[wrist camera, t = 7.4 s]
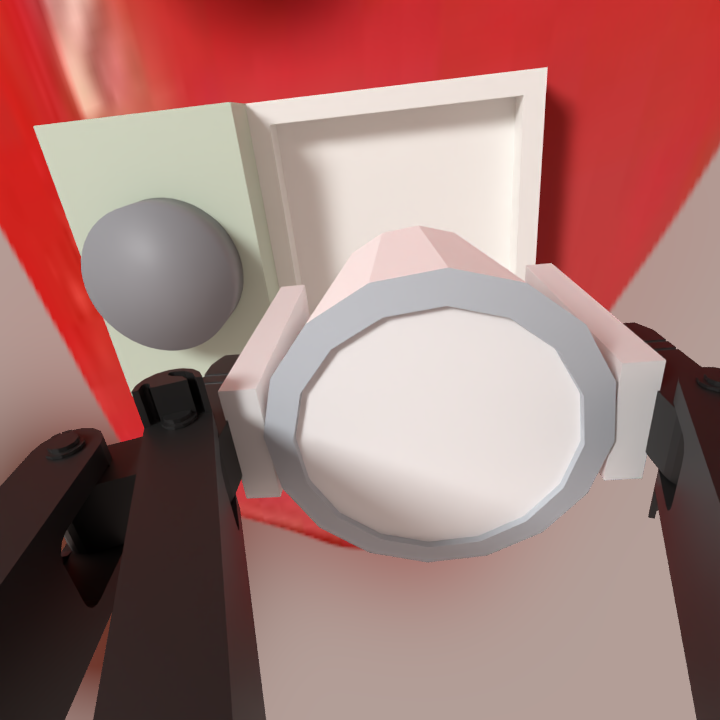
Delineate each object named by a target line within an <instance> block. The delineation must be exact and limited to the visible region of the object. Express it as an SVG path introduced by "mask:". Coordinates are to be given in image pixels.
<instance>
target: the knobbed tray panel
mask: <svg viewBox="0 0 720 720" xmlns="http://www.w3.org/2000/svg"><path fill="white" fill-rule="evenodd" d="M547 68H548V67H546V68H537V69H529V70H521V71H513V72H504V73H496V74H488V75H479V76H471V77H463V78H455V79H446V80H438V81H430V82H422V83H413V84H405V85H397V86H388V87H380V88H372V89H364V90H355V91H347V92H339V93H331V94H322V95H314V96H306V97H297V98H289V99H281V100H273V101H264V102H256V103H248V104H242V103H233V102H227V103H219V104H211V105H203V106H194V107H186V108H178V109H170V110H161V111H153V112H145V113H137V114H128V115H120V116H112V117H104V118H96V119H87V120H79V121H71V122H63V123H54V124H46V125H38V126H33V127H34V129H35V132H36V135H37V138H38V140H39V143H40V146H41V149H42V151H43V154H44V157H45V159H46V162H47V165H48V168H49V170H50V173H51V176H52V179H53V181H54V184H55V187H56V189H57V192H58V195H59V198H60V200H61V203H62V206H63V209H64V211H65V214H66V217H67V219H68V222H69V225H70V228H71V230H72V233H73V236H74V239H75V241H76V244H77V247H78V250H79V252H80V255H81V271H82V277H83V281H84V284H85V288H86V290H87V293H88V295H89V297H90V299H91V301H92V303H93V304H94V306H95V308H96V309H97V310H98V312H99V313H100V314H101V316H102V317H103V318H104V320H105V323H106V326H107V329H108V331H109V334H110V337H111V340H112V342H113V345H114V348H115V350H116V353H117V356H118V359H119V361H120V364H121V367H122V370H123V372H124V375H125V378H126V381H127V383H128V386H129V389H130V391H131V392H132V390H133V389H134V387H135V386H136V385H137V384H138V383H140V382H141V381H142V380H144V379H146V378H148V377H150V376H152V375H154V374H157V373H160V372H164V371H167V370H172V369H179V368H189V369H195V370H197V371H200V373H201V375H202V377H205V373H206V372H207V370H208V369H209V367H210V366H211V365H212V364H213V363H215V362H216V361H217V360H219V359H220V358H222V357H223V356H225V355H235V354H241V352H242V351H243V349H244V347H245V346H246V344H247V343H248V341H249V339H250V338H251V336H252V334H253V333H254V331H255V329H256V328H257V326H258V324H259V323H260V321H261V319H262V318H263V316H264V314H265V313H266V311H267V310H268V308H269V306H270V305H271V303H272V301H273V300H274V298H275V296H276V295H277V293H278V291H279V290H280V288H281V287H285V286H296V285H305V290H306V296H307V302H308V308H309V315H310V317H311V315H312V314H313V312H314V311H315V309H316V307H317V306H318V304H319V303H320V301H321V300H322V298H323V297H324V295H325V294H326V292H327V291H328V289H329V288H330V286H331V285H332V283H333V282H334V280H335V279H336V277H337V276H338V274H339V273H340V271H341V270H342V268H343V267H344V265H345V264H346V262H347V260H348V259H349V257H350V256H351V254H352V253H353V252H355V251H356V250H358V249H359V248H361V247H362V246H364V245H365V244H367V243H368V242H369V241H371V240H372V239H374V238H375V237H377V236H378V235H380V234H381V233H384V232H389V231H394V230H399V229H403V228H408V227H413V226H418V225H419V226H424V227H429V228H434V229H439V230H444V231H449V232H454V233H455V234H457V235H458V236H460V237H461V238H463V239H464V240H466V241H467V242H469V243H470V244H471V245H473V246H474V247H476V248H477V249H479V250H480V251H482V252H483V253H484V254H486V255H487V256H489V257H490V258H492V259H493V260H495V261H496V262H497V263H499V264H500V265H502V266H503V267H505V268H506V269H508V270H509V271H510V272H512V273H513V274H515V275H516V276H518V277H519V278H521V279H522V280H524V281H525V272H526V265H535V263H536V247H537V231H538V215H539V198H540V182H541V166H542V149H543V133H544V117H545V100H546V84H547ZM131 394H132V393H131ZM132 396H133V395H132Z"/></svg>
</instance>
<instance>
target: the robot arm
mask: <svg viewBox="0 0 720 720" xmlns="http://www.w3.org/2000/svg"><path fill="white" fill-rule="evenodd" d="M525 282H526V283H528V284H529V285H531V286H532V287H534V288H535V289H536V290H538V291H539V292H541V293H542V294H543V295H545V296H546V297H548V298H549V299H551V300H552V301H553V302H555V303H556V304H558V305H559V306H561V307H562V308H563V309H565V310H566V311H568V312H569V313H571V314H572V315H573V316H575V317H576V318H578V319H579V320H580V321H582V322H583V323H585V324H586V325H587V327H588V329H589V331H590V333H591V334H592V336H593V338H594V340H595V342H596V344H597V346H598V348H599V350H600V352H601V354H602V356H603V358H604V359H605V361H606V363H607V365H608V367H609V369H610V371H611V373H612V375H613V377H614V379H615V381H616V405H615V441H614V443H613V445H612V447H611V449H610V451H609V453H608V455H607V457H606V459H605V461H604V462H603V464H602V466H601V468H600V470H599V473H600V475H601V476H602V478H603V479H604V480H621V479H641V478H642V477H643V472H644V467H645V462H646V457H647V455H648V456H649V457H650V459H651V460H652V461H653V462H654V464H655V465H656V466H657V467H658V474H657V478H656V483H655V487H654V492H653V497H652V501H651V506H650V510H649V516H648V517H649V518H655V514H656V511H658V510H659V515H660V521H661V526H662V532H663V537H664V542H665V548H666V554H667V559H668V564H669V570H670V575H671V581H672V586H673V592H674V597H675V603H676V608H677V613H678V619H679V625H680V630H681V636H682V641H683V647H684V652H685V657H686V663H687V668H688V674H689V680H690V685H691V691H692V696H693V701H694V707H695V713H696V718H697V720H720V368H715V367H701V366H699V365H698V364H697V363H695V362H694V361H693V360H692V359H690V358H689V357H688V356H686V355H685V354H684V353H683V352H681V351H680V350H679V349H676V347H675V346H673V345H672V344H671V343H669V342H668V341H666V339H664V338H663V337H662V336H660V335H659V334H658V333H657V332H655V331H654V330H652V329H650V328H647V327H645V326H642V325H639V324H637V323H622V322H620V321H619V320H618V319H617V318H616V317H614V316H613V315H612V314H611V313H610V312H609V311H607V310H606V309H605V308H604V307H603V306H601V305H600V304H599V303H598V302H597V301H596V300H594V299H593V298H592V297H591V296H590V295H588V294H587V293H586V292H585V291H584V290H583V289H581V288H580V287H579V286H578V285H577V284H575V283H574V282H573V281H572V280H571V279H570V278H568V277H567V276H566V275H565V274H564V273H562V272H561V271H560V270H559V269H558V268H557V267H555V266H554V265H553V264H552V263H547V264H536V265H526V272H525ZM309 318H310V315H309V308H308V302H307V296H306V290H305V285H296V286H285V287H281V288H280V290H279V291H278V293H277V295H276V296H275V298H274V300H273V301H272V303H271V305H270V306H269V308H268V310H267V311H266V313H265V314H264V316H263V318H262V319H261V321H260V323H259V324H258V326H257V328H256V329H255V331H254V333H253V334H252V336H251V338H250V339H249V341H248V343H247V344H246V346H245V347H244V349H243V351H242V352H241V354H235V355H225V356H223V357H222V358H220V359H219V360H217V361H216V362H215V363H213V364H212V365H211V366H210V367H209V369H208V370H207V372H206V373H205V377H202V375H201V373H200V371H197V370H195V369H189V368H179V369H172V370H167V371H164V372H160V373H157V374H154V375H152V376H150V377H148V378H146V379H144V380H142V381H141V382H140V383H138V384H137V385H136V386H135V387H134V389H133V390H132V392H131V393H132V395H133V398H134V401H135V404H136V406H137V409H138V412H139V415H140V417H141V420H142V423H143V426H144V433H143V437H139V438H136V439H132V440H128V441H124V442H120V443H116V444H112V445H108V446H107V445H106V442H105V439H104V437H103V435H102V433H101V431H99V430H96V429H94V428H81V429H76V430H68V431H65V432H62V434H60V433H59V434H57V435H54V436H53V437H51V439H49V440H47V441H45V442H43V443H42V444H40V445H39V446H38V447H37V448H36V449H34V450H33V451H32V452H31V453H30V454H29V455H28V456H27V458H25V460H24V461H23V462H22V463H21V464H20V465H19V466H18V467H17V468H16V470H15V471H14V472H13V473H12V474H11V475H10V476H9V477H8V478H7V480H6V481H5V482H4V483H3V484H2V485H1V486H0V720H65V718H66V716H67V714H68V711H69V709H70V707H71V704H72V702H73V700H74V697H75V695H76V693H77V691H78V688H79V686H80V684H81V682H82V679H83V677H84V675H85V672H86V670H87V668H88V666H89V663H90V661H91V659H92V657H93V654H94V652H95V650H96V647H97V645H98V643H99V641H100V638H101V636H102V634H103V631H104V629H105V627H106V625H107V622H108V620H109V618H110V615H111V613H112V616H111V622H110V627H109V633H108V639H107V645H106V650H105V656H104V662H103V667H102V673H101V679H100V684H99V690H98V696H97V702H96V707H95V713H94V719H93V720H266V716H265V707H264V700H263V693H262V683H261V676H260V667H259V659H258V651H257V643H256V635H255V628H254V619H253V612H252V603H251V594H250V586H249V578H248V571H247V562H246V554H245V546H244V538H243V530H242V522H241V514H240V507H239V504H238V500H237V497H236V491H237V489H238V486H239V483H240V481H241V479H242V483H243V486H244V490H245V494H246V497H247V498H264V497H281V493H282V489H283V488H282V487H281V484H280V481H279V478H278V475H277V473H276V470H275V467H274V464H273V462H272V459H271V456H270V453H269V451H268V448H267V445H266V442H265V440H264V437H263V436H264V427H265V418H266V409H267V401H268V392H269V383H270V378H271V377H272V375H273V374H274V372H275V370H276V369H277V367H278V366H279V364H280V363H281V361H282V360H283V358H284V357H285V355H286V353H287V352H288V350H289V349H290V347H291V346H292V344H293V343H294V341H295V340H296V338H297V336H298V335H299V333H300V332H301V330H302V329H303V327H304V326H305V324H306V323H307V321H308V320H309ZM63 537H64V538H65V540H66V542H67V544H66V546H65V547H64V549H63V550H62V552H61V545H62V540H63Z"/></svg>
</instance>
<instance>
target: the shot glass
mask: <svg viewBox="0 0 720 720" xmlns="http://www.w3.org/2000/svg"><path fill="white" fill-rule="evenodd" d="M615 405H616V381H615V379H614V377H613V375H612V373H611V371H610V369H609V367H608V365H607V363H606V361H605V359H604V358H603V356H602V354H601V352H600V350H599V348H598V346H597V344H596V342H595V340H594V338H593V336H592V334H591V333H590V331H589V329H588V327H587V325H586V324H585V323H583V322H582V321H580V320H579V319H578V318H576V317H575V316H573V315H572V314H571V313H569V312H568V311H566V310H565V309H563V308H562V307H561V306H559V305H558V304H556V303H555V302H553V301H552V300H551V299H549V298H548V297H546V296H545V295H543V294H542V293H541V292H539V291H538V290H536V289H535V288H534V287H532V286H531V285H529V284H528V283H526V282H525V281H524V280H522V279H521V278H519V277H518V276H516V275H515V274H513V273H512V272H510V271H509V270H508V269H506V268H505V267H503V266H502V265H500V264H499V263H497V262H496V261H495V260H493V259H492V258H490V257H489V256H487V255H486V254H484V253H483V252H482V251H480V250H479V249H477V248H476V247H474V246H473V245H471V244H470V243H469V242H467V241H466V240H464V239H463V238H461V237H460V236H458V235H457V234H455V233H454V232H449V231H444V230H439V229H434V228H429V227H424V226H419V225H418V226H413V227H408V228H403V229H399V230H394V231H389V232H384V233H381V234H380V235H378V236H377V237H375V238H374V239H372V240H371V241H369V242H368V243H367V244H365V245H364V246H362V247H361V248H359V249H358V250H356V251H355V252H353V253H352V254H351V256H350V257H349V259H348V260H347V262H346V264H345V265H344V267H343V268H342V270H341V271H340V273H339V274H338V276H337V277H336V279H335V280H334V282H333V283H332V285H331V286H330V288H329V289H328V291H327V292H326V294H325V295H324V297H323V298H322V300H321V301H320V303H319V304H318V306H317V307H316V309H315V311H314V312H313V314H312V315H311V317H310V318H309V320H308V321H307V323H306V324H305V326H304V327H303V329H302V330H301V332H300V333H299V335H298V336H297V338H296V340H295V341H294V343H293V344H292V346H291V347H290V349H289V350H288V352H287V353H286V355H285V357H284V358H283V360H282V361H281V363H280V364H279V366H278V367H277V369H276V370H275V372H274V374H273V375H272V377H271V378H270V383H269V392H268V401H267V409H266V418H265V427H264V436H263V437H264V440H265V442H266V445H267V448H268V451H269V453H270V456H271V459H272V462H273V464H274V467H275V470H276V473H277V475H278V478H279V481H280V484H281V487H282V488H283V489H284V491H285V492H286V493H287V494H288V495H289V496H290V497H291V498H292V499H293V500H294V501H295V502H296V503H297V504H298V505H299V506H300V507H301V508H302V509H303V511H304V512H305V513H306V514H307V515H308V516H309V517H310V518H311V519H312V520H313V521H314V522H315V523H316V524H317V525H318V526H319V527H320V528H322V529H324V530H326V531H328V532H330V533H332V534H334V535H336V536H338V537H340V538H342V539H344V540H345V541H347V542H349V543H351V544H353V545H355V546H357V547H359V548H361V549H363V550H365V551H367V552H370V553H374V554H380V555H386V556H393V557H399V558H404V559H410V560H416V561H422V562H435V561H444V560H452V559H461V558H470V557H478V556H487V555H489V554H492V553H494V552H497V551H499V550H501V549H503V548H506V547H508V546H511V545H513V544H516V543H518V542H520V541H523V540H525V539H528V538H530V537H532V536H534V535H537V534H539V533H542V532H543V531H544V530H545V529H547V528H548V527H549V526H550V525H551V524H552V523H554V522H555V521H556V520H557V519H558V518H559V517H560V516H562V515H563V514H564V513H565V512H566V511H567V510H569V509H570V508H571V507H572V506H573V505H574V504H576V503H577V502H578V501H579V500H580V499H581V498H583V497H584V496H585V495H586V494H587V493H588V491H589V489H590V487H591V485H592V484H593V482H594V480H595V478H596V476H597V474H598V472H599V470H600V468H601V466H602V464H603V462H604V461H605V459H606V457H607V455H608V453H609V451H610V449H611V447H612V445H613V443H614V441H615Z"/></svg>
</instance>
